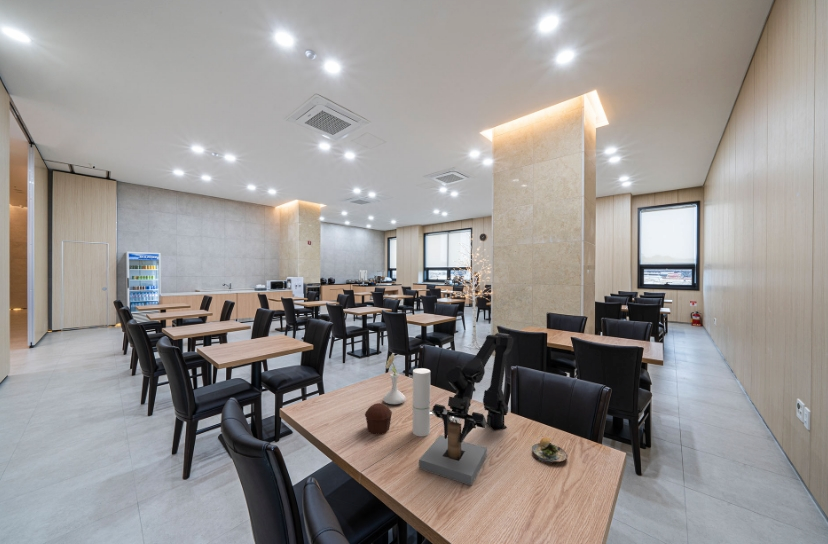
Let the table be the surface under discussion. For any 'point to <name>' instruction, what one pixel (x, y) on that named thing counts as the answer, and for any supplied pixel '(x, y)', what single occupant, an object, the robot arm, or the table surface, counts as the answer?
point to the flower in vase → (393, 386)
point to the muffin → (378, 418)
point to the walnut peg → (454, 440)
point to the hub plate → (453, 461)
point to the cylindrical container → (421, 402)
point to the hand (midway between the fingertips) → (452, 440)
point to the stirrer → (449, 418)
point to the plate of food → (548, 452)
